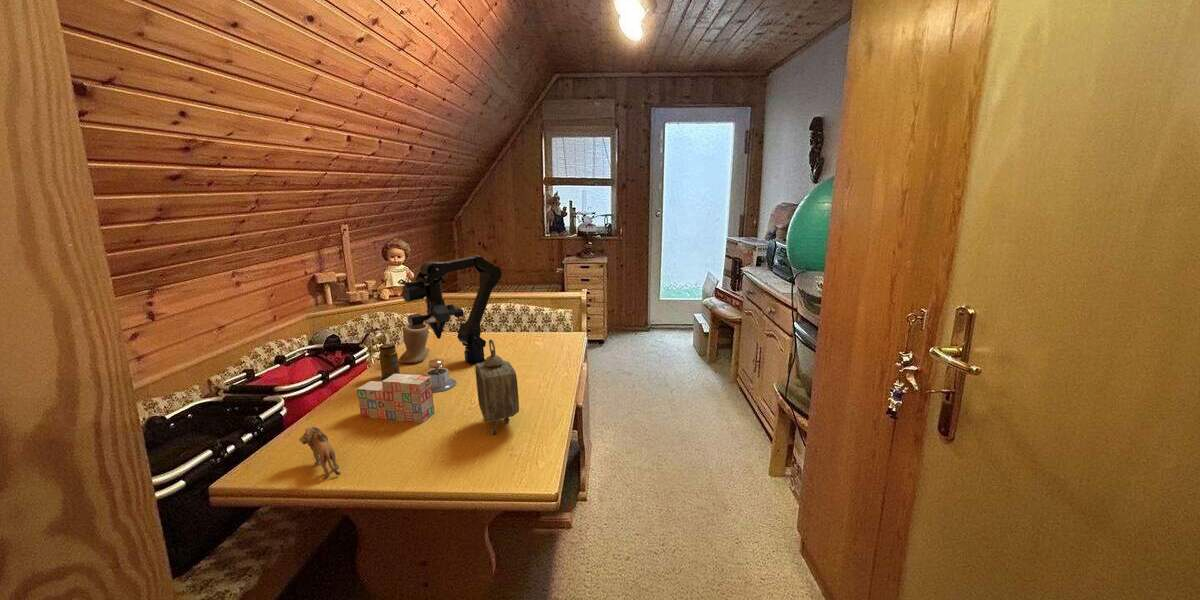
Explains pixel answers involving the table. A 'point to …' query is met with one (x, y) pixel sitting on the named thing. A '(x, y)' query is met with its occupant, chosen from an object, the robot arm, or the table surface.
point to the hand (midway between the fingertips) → (438, 338)
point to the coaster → (451, 385)
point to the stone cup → (415, 343)
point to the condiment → (388, 361)
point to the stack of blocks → (398, 398)
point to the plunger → (436, 364)
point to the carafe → (439, 378)
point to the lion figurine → (320, 449)
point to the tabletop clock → (496, 388)
